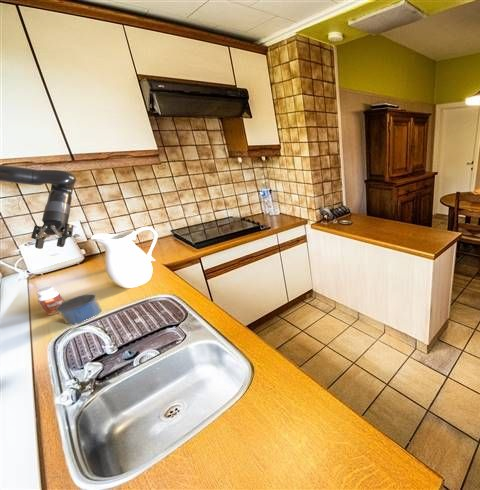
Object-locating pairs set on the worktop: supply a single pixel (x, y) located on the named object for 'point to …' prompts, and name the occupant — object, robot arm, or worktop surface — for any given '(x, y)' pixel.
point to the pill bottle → (49, 300)
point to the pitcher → (126, 258)
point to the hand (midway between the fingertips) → (49, 247)
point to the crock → (79, 309)
